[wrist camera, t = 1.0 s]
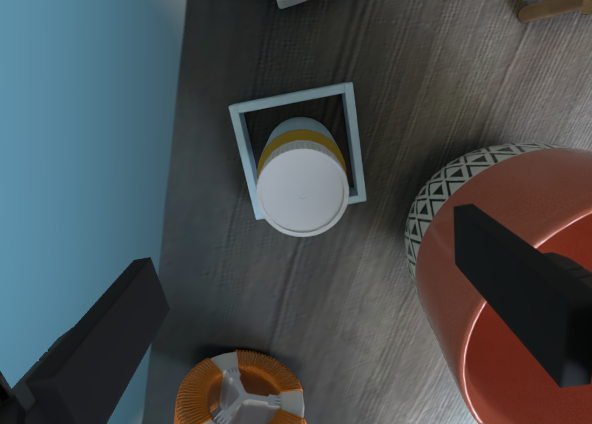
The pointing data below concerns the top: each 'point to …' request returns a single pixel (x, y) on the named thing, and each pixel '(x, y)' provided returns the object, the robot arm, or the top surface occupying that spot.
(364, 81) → the top surface
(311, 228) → the bottle
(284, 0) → the rectangular carton
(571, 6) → the stool
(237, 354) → the coil
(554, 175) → the planter
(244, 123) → the square tray frame
